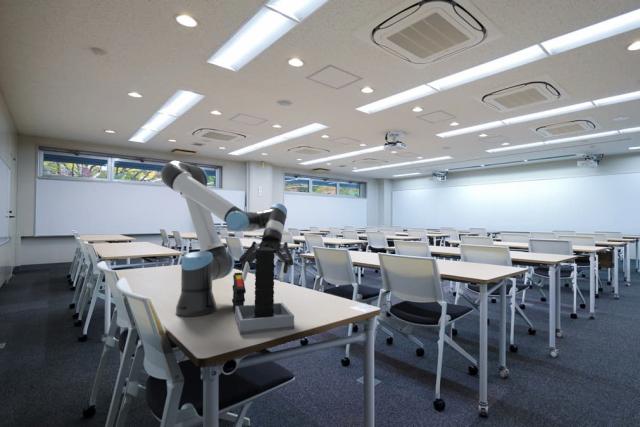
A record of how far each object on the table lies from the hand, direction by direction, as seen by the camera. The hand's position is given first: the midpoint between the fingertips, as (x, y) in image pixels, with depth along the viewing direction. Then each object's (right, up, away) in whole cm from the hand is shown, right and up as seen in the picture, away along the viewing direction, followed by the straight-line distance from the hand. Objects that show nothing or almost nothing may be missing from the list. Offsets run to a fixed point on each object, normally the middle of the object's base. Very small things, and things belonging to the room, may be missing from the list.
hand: (262, 279), depth 112 cm
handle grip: (0, -15, +2) cm, 16 cm away
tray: (0, -16, +2) cm, 16 cm away
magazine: (-13, -17, +17) cm, 27 cm away
